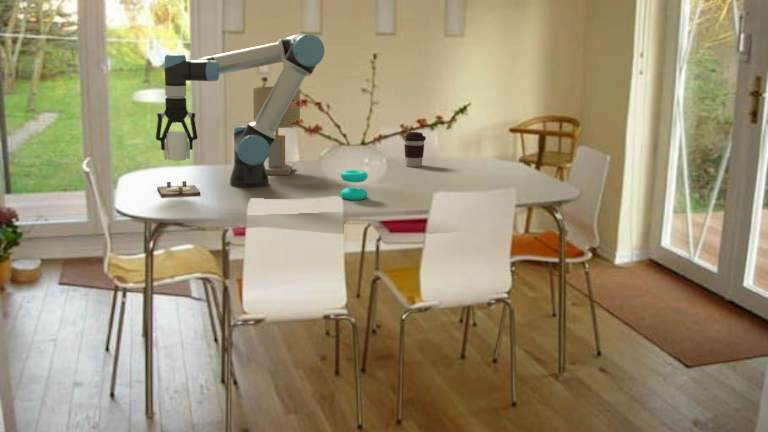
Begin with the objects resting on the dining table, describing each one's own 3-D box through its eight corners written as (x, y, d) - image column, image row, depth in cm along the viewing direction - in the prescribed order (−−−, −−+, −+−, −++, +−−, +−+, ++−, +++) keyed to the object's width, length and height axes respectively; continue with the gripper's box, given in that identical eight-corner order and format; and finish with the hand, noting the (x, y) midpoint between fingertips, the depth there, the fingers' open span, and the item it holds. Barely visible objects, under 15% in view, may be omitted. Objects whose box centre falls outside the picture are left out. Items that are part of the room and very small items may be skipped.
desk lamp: (297, 176, 376) (297, 91, 368) (250, 175, 376) (249, 90, 368) (302, 168, 395) (302, 87, 387) (257, 167, 395) (257, 86, 387)
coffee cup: (400, 166, 404) (401, 133, 400) (406, 163, 413) (407, 130, 410) (421, 168, 401) (422, 134, 397) (427, 165, 410) (428, 132, 407)
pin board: (194, 188, 347) (194, 179, 347) (200, 195, 335) (200, 186, 334) (157, 189, 343) (157, 181, 342) (161, 197, 330) (161, 188, 329)
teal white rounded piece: (345, 168, 340) (371, 170, 338) (345, 194, 343) (370, 196, 340) (337, 172, 331) (363, 174, 328) (337, 199, 333) (362, 201, 331)
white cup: (166, 161, 331) (166, 134, 329) (165, 157, 338) (165, 131, 336) (188, 160, 333) (188, 134, 331) (187, 157, 340) (186, 131, 338)
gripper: (202, 95, 337) (203, 156, 343) (146, 96, 330) (147, 157, 335) (205, 97, 331) (206, 159, 336) (148, 98, 323) (150, 161, 329)
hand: (177, 158), depth 336 cm, fingers closed on white cup, 8 cm apart
